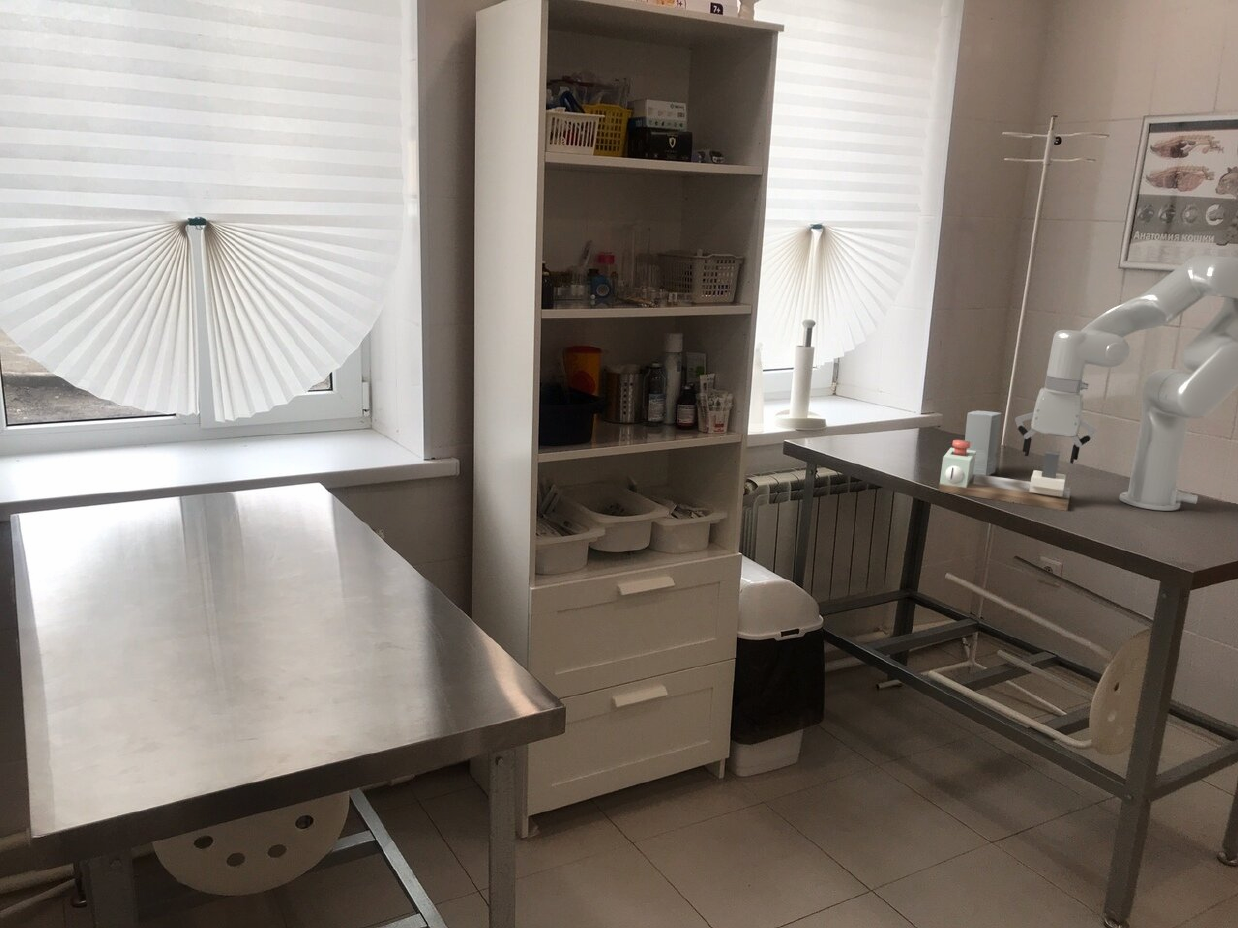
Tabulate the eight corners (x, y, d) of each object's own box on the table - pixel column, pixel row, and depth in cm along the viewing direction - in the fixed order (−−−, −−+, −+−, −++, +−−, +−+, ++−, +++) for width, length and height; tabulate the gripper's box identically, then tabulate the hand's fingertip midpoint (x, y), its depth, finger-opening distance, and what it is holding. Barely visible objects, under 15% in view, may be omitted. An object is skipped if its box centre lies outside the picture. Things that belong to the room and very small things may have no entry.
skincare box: (986, 478, 247) (995, 416, 244) (957, 472, 252) (966, 411, 248) (996, 472, 254) (1005, 412, 250) (968, 467, 258) (977, 407, 254)
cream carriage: (1063, 490, 232) (1069, 451, 229) (1061, 498, 225) (1068, 458, 222) (1031, 485, 234) (1037, 447, 232) (1028, 493, 227) (1035, 453, 225)
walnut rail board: (1069, 496, 234) (1071, 482, 233) (1067, 510, 222) (1069, 495, 221) (946, 478, 246) (948, 464, 245) (938, 490, 233) (940, 476, 232)
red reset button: (969, 454, 237) (971, 441, 236) (967, 457, 234) (969, 444, 233) (952, 451, 239) (954, 439, 238) (950, 455, 235) (951, 442, 235)
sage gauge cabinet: (972, 476, 242) (976, 451, 240) (965, 488, 231) (969, 461, 229) (947, 473, 244) (950, 447, 243) (939, 484, 233) (943, 457, 232)
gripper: (1104, 389, 223) (1090, 462, 227) (1023, 378, 230) (1010, 449, 234) (1104, 393, 217) (1089, 468, 221) (1020, 382, 224) (1007, 455, 228)
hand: (1049, 458), depth 228 cm, fingers open, 9 cm apart
